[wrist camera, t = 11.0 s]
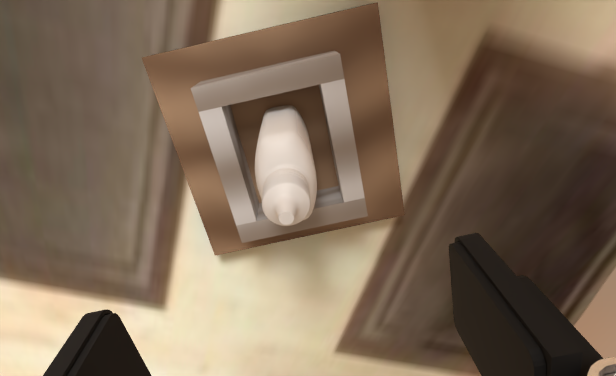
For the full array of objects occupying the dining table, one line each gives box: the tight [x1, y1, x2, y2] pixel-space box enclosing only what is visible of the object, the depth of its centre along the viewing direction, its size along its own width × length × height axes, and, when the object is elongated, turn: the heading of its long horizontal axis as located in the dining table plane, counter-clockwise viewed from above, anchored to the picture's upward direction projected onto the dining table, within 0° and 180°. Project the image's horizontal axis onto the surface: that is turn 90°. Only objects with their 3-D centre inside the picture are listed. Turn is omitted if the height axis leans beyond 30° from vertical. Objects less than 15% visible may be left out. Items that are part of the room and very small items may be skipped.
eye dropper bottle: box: [255, 105, 317, 226], centre depth 23 cm, size 4×6×12 cm
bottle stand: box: [142, 3, 404, 255], centre depth 28 cm, size 16×16×4 cm
